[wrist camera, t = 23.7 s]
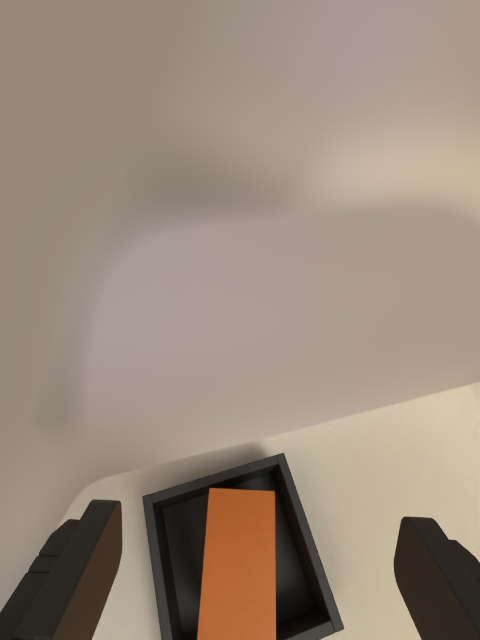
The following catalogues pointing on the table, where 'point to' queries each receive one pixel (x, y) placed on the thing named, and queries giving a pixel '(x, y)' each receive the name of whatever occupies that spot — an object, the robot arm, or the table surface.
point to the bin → (189, 542)
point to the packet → (239, 567)
